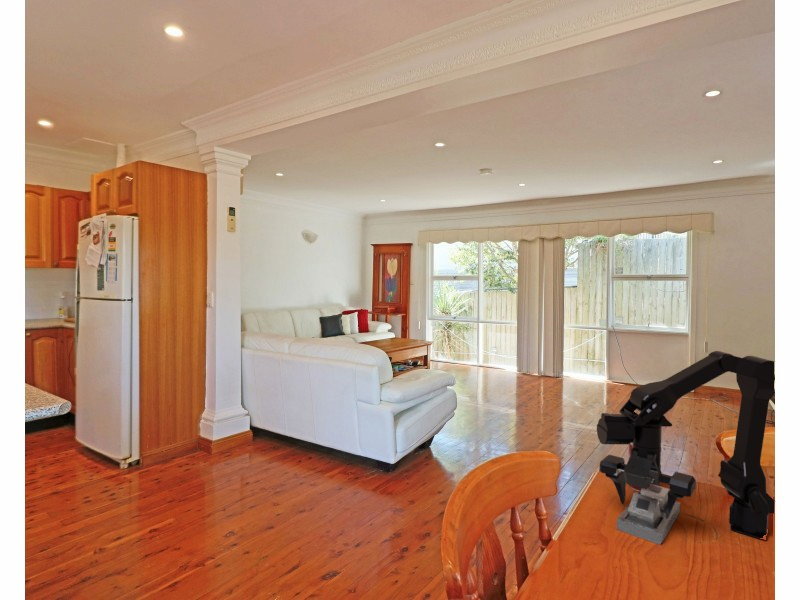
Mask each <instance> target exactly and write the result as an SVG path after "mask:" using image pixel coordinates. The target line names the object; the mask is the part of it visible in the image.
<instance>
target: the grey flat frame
mask: <svg viewBox="0 0 800 600" xmlns="http://www.w3.org/2000/svg"><path fill="white" fill-rule="evenodd" d="M638 494H641V491H639V492H638ZM630 503H631V501H630V502H629V504H628V505H627V506H626V507H625V508H624V509H623V511H622V512H621V513H620V514H619V516H618V517H617V518H616V530H617V531H619V532H620V531H621V532H623V533H626V534H629V535H631V536H634V537H637V538H640V539H643V540H646V541H649V542H651V543H654V544H656V545H659V546H662V544H663V542H664V539H665V538H666V537H667V535H668V534H669V531H670V530H671V528H672V527H673V525H674V523H675V521H676V520H677V518H678V516H679V515H680V512H681V511H680V510H681V502H680V501H676V502H675V504H674V506H673V509H672V511H671V513H670V515H669V517H668V519H667V518H666V513H664V512H661V511H660V513H661V517H660V520H659V524H658V528H657V529H654V528H651V527H648V526H645V525H642V524H639V523H636V522H633V521H630V517H629V513H628V509H629V506H630ZM661 543H662V544H661Z"/></svg>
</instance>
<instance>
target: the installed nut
mask: <svg viewBox="0 0 800 600" xmlns="http://www.w3.org/2000/svg"><path fill="white" fill-rule="evenodd" d="M669 490H670V489H669V488H667V487H663V486H661V485H660V486H659V485H658V486H657V485H651V484H650V487H649V488H648V489H641V495H645V496H648V497H651V498H655V499H658V503H659V508H660V511H661V512H664V513H666V506H667V500H668V492H669Z"/></svg>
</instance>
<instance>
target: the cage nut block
mask: <svg viewBox="0 0 800 600" xmlns="http://www.w3.org/2000/svg"><path fill="white" fill-rule="evenodd" d="M638 493H639V492H638ZM638 493H637V492H635V491H634V492H633V494H632V496H631V500H630V502H631V503H630V502H629V504H630V506H629V509H628V513H629V517H630V521H633V522H636V523H639V524H642V525H645V526H648V527H651V528H654V529H657V528H658V524H659V520H660V517H661V513H660V508H659V503H658V499H655V498H651V497H648V496H645V495H641V494H638Z"/></svg>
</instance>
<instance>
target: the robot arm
mask: <svg viewBox="0 0 800 600" xmlns="http://www.w3.org/2000/svg"><path fill="white" fill-rule="evenodd" d="M728 372H730V373H734V374H735V375H736V376H735V377H736V383H737V385H738V388H739V391H740V393H741V399H740V405H739V412H738V420H737V428H736V435H735V442H734V447H733V454H732V456H731V457H730V458H728V460H727V461H726V460H724V459H723V460H721V461H720V463H719V465H720V469H719V472H718V475H717V476H718V477H719V478H720V483H721V485H722V486H723V487H724V489H726V492H727V495H728V496H730V497H732V498H733V501H732V502H731V503H730V505H729V516H728V523H729V525H730V527H729V528H730V530H731V531H732V532H736V533H740V534H743V535H745V536H748V537H752V538H755V539H758V538H759V540H761V539H760V538H763V536H764V535H766V534H767V529H768V527H769V515H771V514H775V513H774V501H775V499H773V497H772V496H771V495H769V493H767V478H766V474H765V473H764V470H763V468H762V465H761V461H762V460H761V458H762V451H763V446H764V439H765V431H766V425H767V418H768V411H769V406H770V401H771V399H772V398H773V397H774V396H775V395H774V361H773V360H770V359H766V358H763V357H758V356H755V355H746V356H743V357H739V356H736V355H734V354H732V353H731V354H730V353H727V352H723V351H721V350H714V351H712V352H710V353H709V354H708V355H707V356H705V357H704V358H701V359H699V360H698V361H697V362H695V363H693V364H691V365H689V366H688V367H685V368H684V369H682V370H680V371H678V372H676V373H674V374H672V375H671V376H669V377H667V378H665V379H663V380H661V381H660V380H659V381H654V382H649V383H645V384H642V385H640V386H637V387H635V388H634V389H632V390H631V392H630V396H629V399H627V401H626V402H625V403H624V405H623V406H622V407H621V409H619V411H618V413H608V412H602V413H601V415H600V417H601V418H599V420H598V422H597V424H596V434H597V438H598V441H599V443H601V445H628V446H629V444H630V443H633V445H632V449H631V456H630V458H629V460H628V459H627V463H625V459H624V458H623V457H620V456H616V455H612V454H608V455H606V456H605V457H604V458H603V459H602V460H600V462H599V469H598V470H599V472H600V473H602V474H604V475H605V478H609V480H611V481H612V483H613V484H614V488H615V490H616V491H617V495H618V498H619V500H620V503H621V505H624V504H625V503H626V496H627V495H626V494H627V493H626V492H627V491H626V487H627V486H626V485H628V486H629V485H634V486H638V487H640V488H642V489H648V488H649V487H650V484H651V485H653V484H656V485H658V486H659V485H660V484H665V485H669V486H668V489H669V492H668V500H667V506H666V518H667V519H668V517H669V515H670V513H671V511H672V509H673V506H674V504H675V502H677V500H678V499H685V497H686V498H691V497H692V495H693V493H694V492H695V491H696V487H697V484H696V483H697V481H696V478H695V477H694V476H693V475H690V474H687V473H684V472H683V473H682V472H678V471H675V472H674V473H673V474H672V475H669V474H666V473H662V465H661V463H662V462H661V460H662V459H661V458H662V457H661V456H662V454H661V453H662V431H663V430H662V429H663V427H666V428H669V427H673V423H671V422H670V421H669V420H668V419H667V418H666V416H665V415H666V414H667V413H668V412H669V411H671V410H672V409H673V408H674V407H675V405H676V404H677V401H678V400H679V399H681V398H682V397H684V396H685V395H687V394H689V393H691V392H693V391H695V390H696V389H699V388H700V387H702V386H704V385H706V384H708V383H709V382H711V381H713V380H714V379H717V378H718V377H721V376H722V375H724V374H726V373H728ZM635 411H638V412H639V413H637V412H635Z"/></svg>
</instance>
